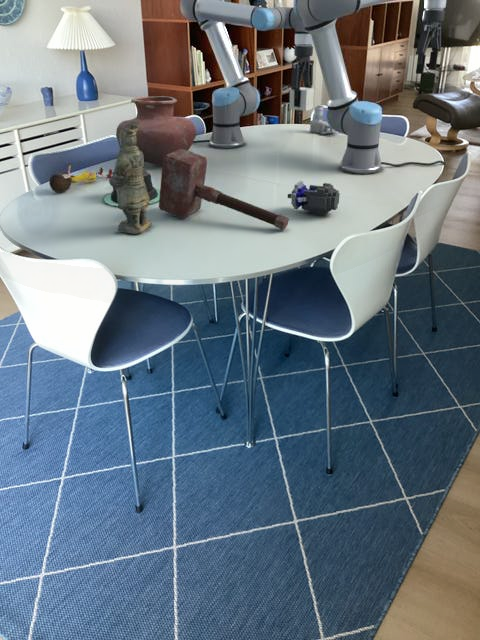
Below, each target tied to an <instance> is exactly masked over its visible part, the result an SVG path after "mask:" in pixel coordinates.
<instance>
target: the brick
mask: <svg viewBox="0 0 480 640" xmlns="http://www.w3.org/2000/svg"><path fill="white" fill-rule="evenodd" d="M300 90H301V100H300V107H294V90H292V89H291V88H289V103H288V104H289V107H288V108H289V110H295V111H303V112H307V111H310V110H313V109H314V98H315V97H314V95H315V88H314V87H312V88H305V87H304V86H303V87H302V86H300Z"/></svg>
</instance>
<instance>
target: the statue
mask: <svg viewBox="0 0 480 640" xmlns="http://www.w3.org/2000/svg"><path fill="white" fill-rule="evenodd" d="M138 127H139V123H138V122H137V121H133V122H131V123H128V124H127V125H126V126H125V127H124V128H123V129H121V130H120V133H119V138H118V139H117V141H118V140H119V141H118V146H119V152H118V154H117V156H116V160H115V164H114V169H113V172H114V175H113V176H112V175H111V178H108V179H109V180H108V183H109V184H110V186H111V187H112V188H113V187H114V188H115V189H116V192H117V202H118V206H117V209H119V210H122V213H123V214H124V215H125V218H126V219H125V220H122V221H120V222H119V224H118V225H117V231H118V232H121V233H126V234H134V235H136V234H142V233H143V232H145V231H146V230H147V229H148V228H150V227H151V226H152V225H153V223H152V220H150V219H148V216H147V214H148V213H147V212H148V211H147V209H148V206H149V205H150V197H149V195H148V192H147V188H146V184H145V182H144V178H143V169H144V165H145V162H144V156H143V153H142V151H141V150H139V149H138V147H137V146H136V143H137V138H136V131H137V130H138Z"/></svg>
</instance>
